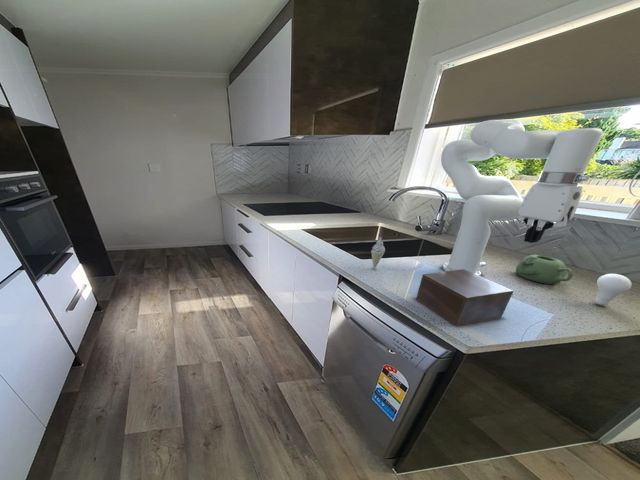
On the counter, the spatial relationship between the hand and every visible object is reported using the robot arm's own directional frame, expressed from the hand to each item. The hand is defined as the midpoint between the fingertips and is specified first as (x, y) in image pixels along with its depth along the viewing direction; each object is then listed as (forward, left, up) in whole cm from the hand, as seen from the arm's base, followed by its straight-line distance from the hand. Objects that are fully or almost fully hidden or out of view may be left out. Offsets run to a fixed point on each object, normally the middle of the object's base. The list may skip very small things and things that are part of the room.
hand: (530, 241), depth 74 cm
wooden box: (+20, 0, -21) cm, 29 cm away
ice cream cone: (+27, -31, -21) cm, 46 cm away
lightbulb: (-27, +9, -21) cm, 36 cm away
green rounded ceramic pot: (-30, -8, -21) cm, 38 cm away
